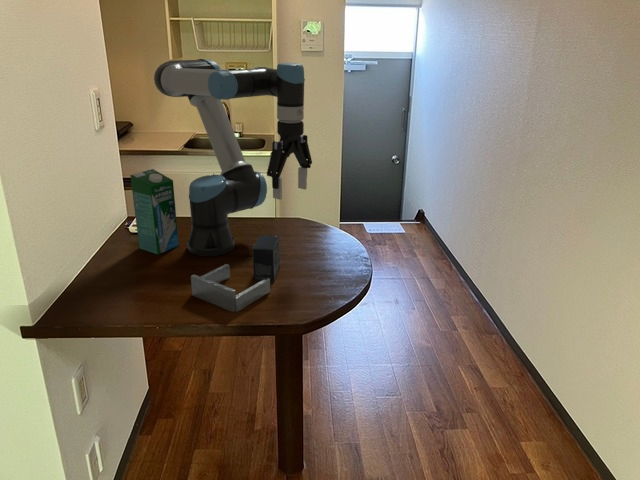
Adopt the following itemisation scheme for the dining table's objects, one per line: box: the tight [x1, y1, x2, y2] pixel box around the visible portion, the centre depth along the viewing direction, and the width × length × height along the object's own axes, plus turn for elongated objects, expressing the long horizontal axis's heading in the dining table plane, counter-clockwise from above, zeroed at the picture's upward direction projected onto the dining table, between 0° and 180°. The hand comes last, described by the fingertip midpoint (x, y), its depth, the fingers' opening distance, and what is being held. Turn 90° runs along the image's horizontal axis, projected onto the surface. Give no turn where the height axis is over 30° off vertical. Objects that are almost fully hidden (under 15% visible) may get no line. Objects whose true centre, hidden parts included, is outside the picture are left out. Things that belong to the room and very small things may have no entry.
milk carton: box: [129, 168, 180, 255], centre depth 170 cm, size 9×9×25 cm
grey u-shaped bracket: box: [190, 263, 271, 313], centre depth 145 cm, size 16×14×6 cm
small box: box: [252, 234, 281, 283], centre depth 156 cm, size 11×6×10 cm, turn 175°
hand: (290, 193), depth 158 cm, fingers open, 12 cm apart
